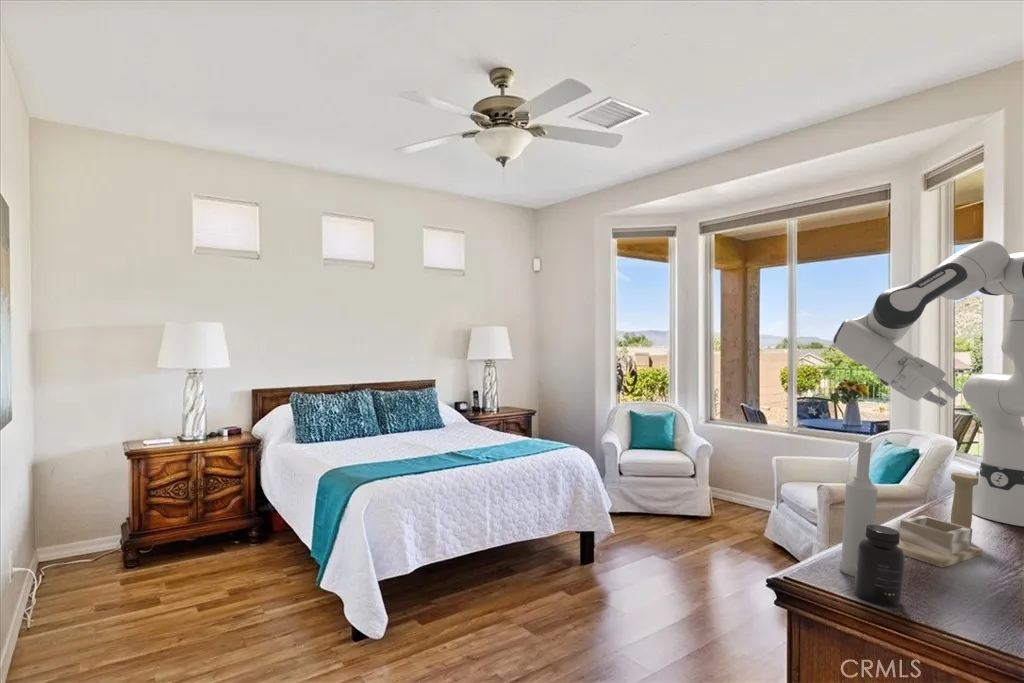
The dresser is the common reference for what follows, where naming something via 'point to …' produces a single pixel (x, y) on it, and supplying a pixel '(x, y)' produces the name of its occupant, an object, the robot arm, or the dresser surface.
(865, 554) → the supplement bottle
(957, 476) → the handle
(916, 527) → the tool holder
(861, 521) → the bottle
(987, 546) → the dresser surface
